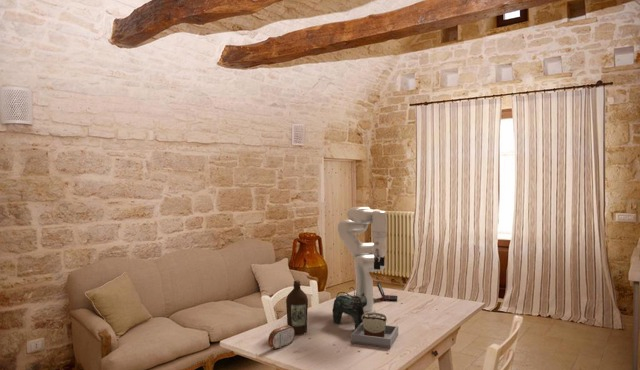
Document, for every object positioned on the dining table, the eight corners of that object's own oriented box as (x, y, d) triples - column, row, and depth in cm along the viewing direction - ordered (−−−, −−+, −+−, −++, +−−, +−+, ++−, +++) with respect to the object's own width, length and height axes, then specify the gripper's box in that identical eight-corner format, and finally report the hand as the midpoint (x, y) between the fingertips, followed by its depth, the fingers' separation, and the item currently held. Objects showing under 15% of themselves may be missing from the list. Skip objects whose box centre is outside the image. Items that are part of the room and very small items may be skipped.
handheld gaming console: (397, 302, 274) (397, 285, 274) (377, 301, 277) (377, 284, 276) (397, 297, 284) (397, 281, 283) (377, 297, 286) (377, 281, 286)
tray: (351, 343, 207) (351, 334, 207) (361, 330, 224) (361, 322, 224) (390, 348, 201) (390, 339, 201) (398, 334, 217) (398, 326, 217)
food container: (389, 334, 214) (389, 313, 214) (387, 339, 209) (387, 317, 208) (364, 332, 219) (364, 311, 218) (361, 336, 213) (361, 315, 212)
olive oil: (284, 329, 226) (284, 279, 225) (305, 327, 228) (305, 277, 228) (288, 336, 216) (287, 284, 215) (310, 334, 218) (309, 282, 217)
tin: (291, 340, 211) (291, 322, 210) (296, 342, 209) (296, 323, 208) (267, 350, 199) (267, 331, 199) (272, 352, 197) (272, 332, 197)
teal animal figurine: (368, 329, 226) (368, 288, 226) (360, 332, 221) (360, 291, 221) (337, 320, 239) (337, 282, 239) (329, 323, 235) (329, 284, 234)
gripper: (382, 237, 227) (382, 271, 227) (389, 233, 243) (389, 264, 243) (367, 236, 229) (368, 270, 230) (376, 232, 245) (376, 264, 246)
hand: (379, 267), depth 236 cm, fingers open, 9 cm apart
